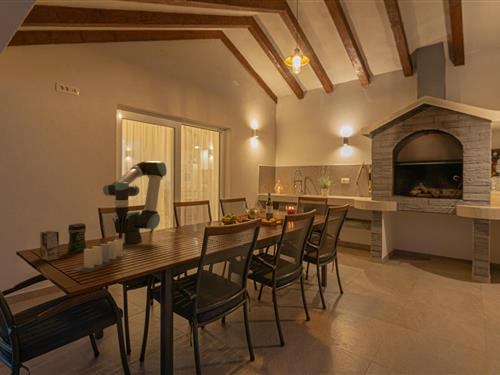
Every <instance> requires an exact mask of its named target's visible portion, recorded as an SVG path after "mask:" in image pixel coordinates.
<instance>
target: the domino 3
mask: <svg viewBox="0 0 500 375" xmlns="http://www.w3.org/2000/svg"><path fill="white" fill-rule="evenodd" d="M99 247H102V262H109V244H107V243H100V244H99Z"/></svg>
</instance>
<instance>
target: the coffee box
mask: <svg viewBox="0 0 500 375" xmlns="http://www.w3.org/2000/svg"><path fill="white" fill-rule="evenodd" d="M59 236H60V234H59V231H56V230H47V231H41V232H39V239H40V240H39V243H40V244H39V245H40V259H41V260H45V261H47V262H48V261H53V260H58V259H59V258H60V245H59V244H60V240H59V239H60V237H59Z"/></svg>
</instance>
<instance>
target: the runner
mask: <svg viewBox="0 0 500 375" xmlns="http://www.w3.org/2000/svg"><path fill="white" fill-rule="evenodd" d="M129 256H130V255H129V254H128V255H127V254H123V256H121V257H120V256H116V259H109V262H102V264H101V265H95V264H94V268H85V267H84V264H83V265H80V266H77V267H75V268H72V269H71V271H77V272H78V271H79V272H86V273H91V272H94V271H95V270H99V269H101V268H103V267H106V266H108V265H110V264H113V263H115V262H119V261H120V260H122V259H125V258H127V257H129Z"/></svg>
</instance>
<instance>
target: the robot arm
mask: <svg viewBox="0 0 500 375" xmlns="http://www.w3.org/2000/svg"><path fill="white" fill-rule="evenodd" d="M143 176H147V178H148V183H147V189H146V195H145V202H144V208H143V209H142V210H141V212H140V210H134V211H129V197H135V196H138V195H139V194H140V188H139V186H138V185H135V184H132V183H133V182H134V181H135V180H136V179H138V178H141V177H143ZM165 176H167V166H166V163H165V162H163V161H162V160H161V161H159V160H156V161H153V160H152V161H151V160H144V161H141V162H139V163H136V164H134V165H133V166H132V167H131V168H130V169H129V170H128V171H127V172H126V173H125V174H123V175H122V176H120V177H119V178H118V179H116V181H114V182H113V183H111V184H105V185H104V186H103V188H102V191H103V195H105V196H109V197H115V199H114V200H115V203H114V204H115V208H114V209H115V211H114V212H115V214H116V215H115V218H112V221H113V223H114V229H115V233H116V234H118V240H123V245H131V244H132V245H133V244H138V243H141V242H143V236H142V235H141V232H140V229H142V230H143V229H144V230H154V229H156V228H157V227H159V224H160V220H161V215H160V214H159V212H158V210H157V206H158V198H159V194H160V193H159V192H160V185H161V181H162V180H163V178H164V177H165Z"/></svg>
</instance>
